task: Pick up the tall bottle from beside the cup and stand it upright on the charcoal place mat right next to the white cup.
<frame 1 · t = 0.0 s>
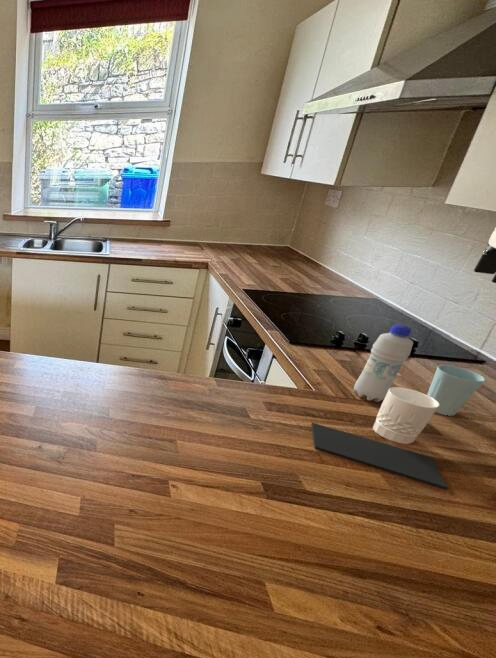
hand: (492, 278, 86), 33 cm above the worktop, tool pointing down, fingers open, 9 cm apart
bottle: (366, 397, 104), on the worktop
cup: (438, 410, 99), on the worktop
place mat: (372, 453, 84), on the worktop
white cup: (391, 435, 90), on the worktop
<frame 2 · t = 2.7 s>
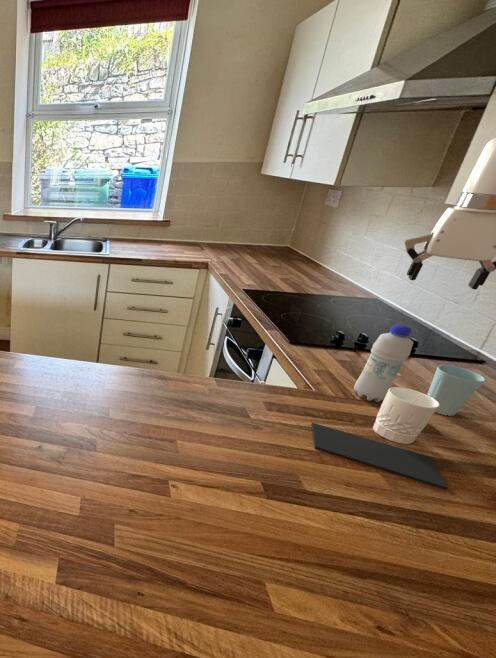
hand: (440, 283, 89), 31 cm above the worktop, tool pointing down, fingers open, 9 cm apart
nothing on the worktop moved.
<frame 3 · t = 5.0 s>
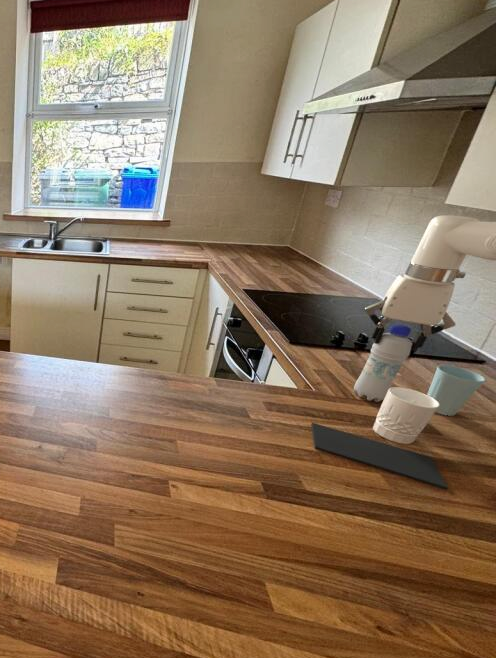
hand: (393, 344, 97), 15 cm above the worktop, tool pointing down, fingers closed on bottle, 6 cm apart
bottle: (366, 397, 104), on the worktop, touching gripper
everything else where it was.
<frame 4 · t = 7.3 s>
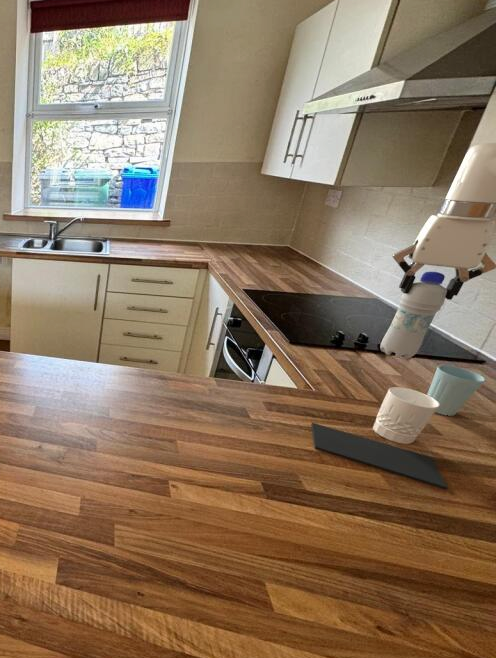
hand: (425, 294, 89), 29 cm above the worktop, tool pointing down, fingers closed on bottle, 6 cm apart
bottle: (395, 355, 95), point 14 cm above the worktop, touching gripper
everything else where it was.
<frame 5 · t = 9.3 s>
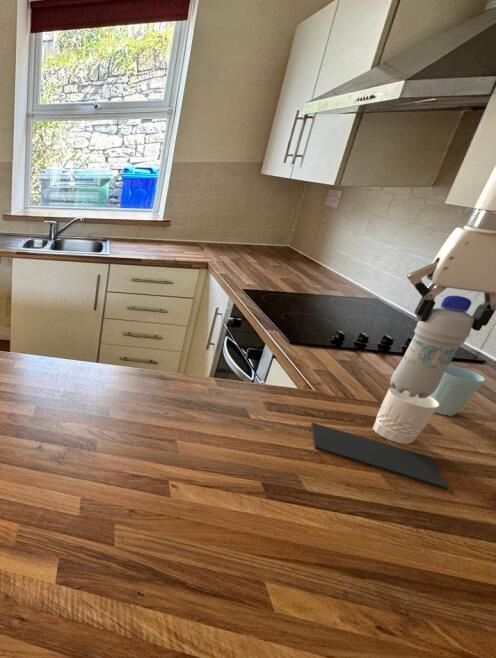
hand: (446, 322, 73), 29 cm above the worktop, tool pointing down, fingers closed on bottle, 6 cm apart
bottle: (407, 392, 80), point 14 cm above the worktop, touching gripper
everything else where it was.
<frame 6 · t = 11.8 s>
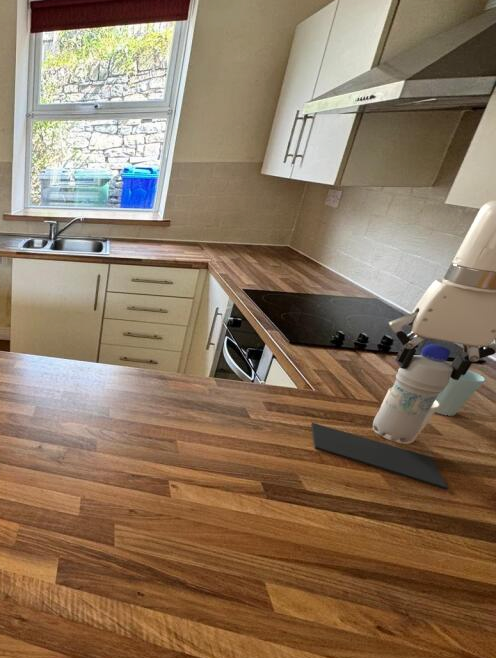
hand: (426, 370, 74), 20 cm above the worktop, tool pointing down, fingers closed on bottle, 6 cm apart
bottle: (389, 435, 81), point 5 cm above the worktop, touching gripper
everything else where it was.
when the fingers open (16 cm above the worktop, at t = 13.7 s): bottle stays where it is, resting on place mat.
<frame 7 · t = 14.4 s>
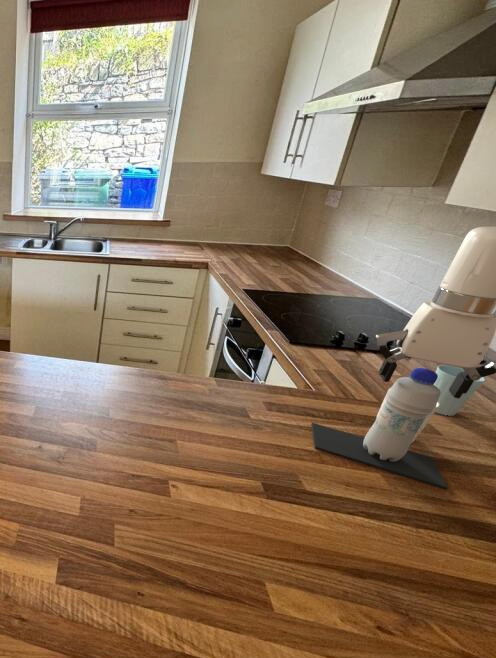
hand: (417, 386, 76), 17 cm above the worktop, tool pointing down, fingers open, 9 cm apart
bottle: (379, 454, 83), resting on place mat
everything else where it was.
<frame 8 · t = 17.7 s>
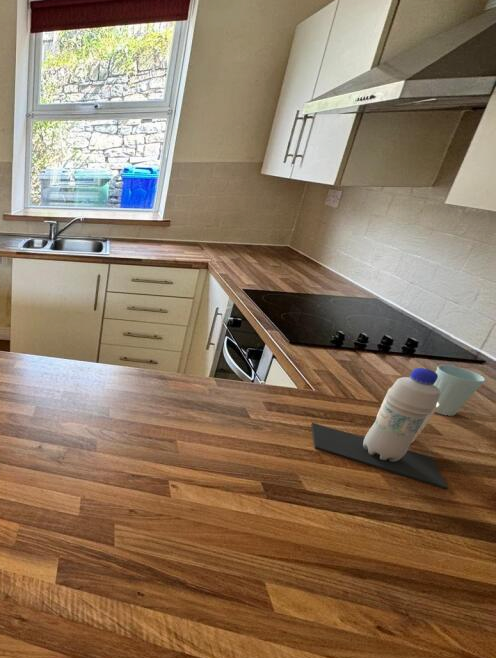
nothing on the worktop moved.
at the end: bottle inside the target area (0.1 cm from its centre), resting on place mat; bottle 11.6 cm from the white cup (horizontally); bottle tilted 0° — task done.
